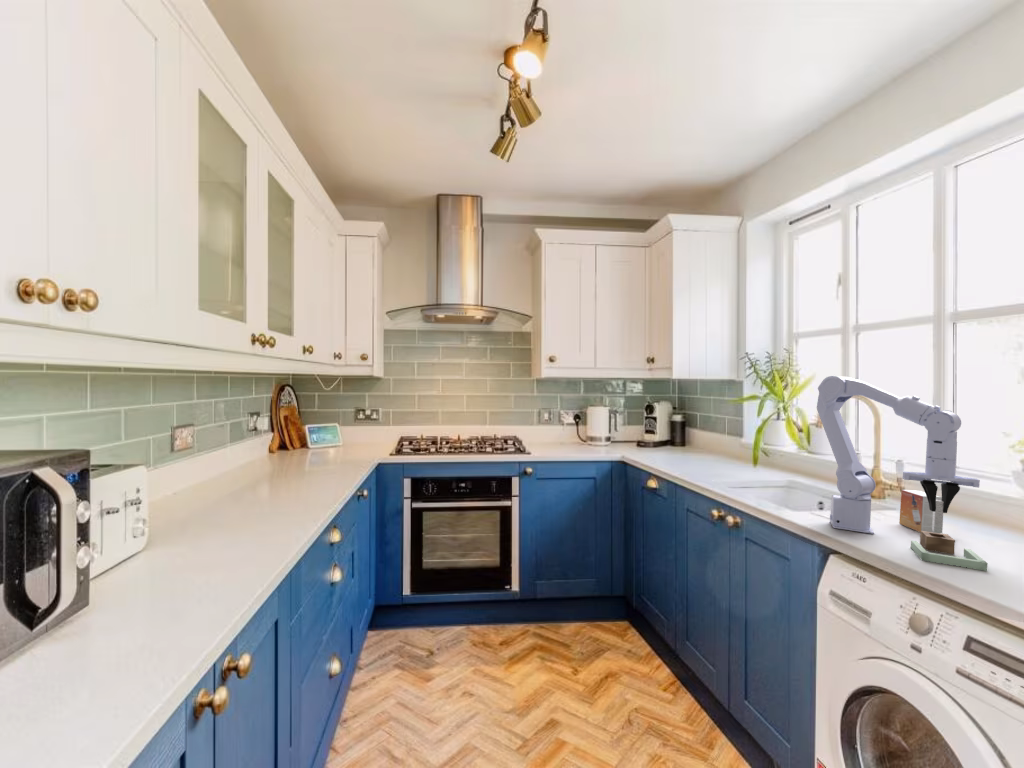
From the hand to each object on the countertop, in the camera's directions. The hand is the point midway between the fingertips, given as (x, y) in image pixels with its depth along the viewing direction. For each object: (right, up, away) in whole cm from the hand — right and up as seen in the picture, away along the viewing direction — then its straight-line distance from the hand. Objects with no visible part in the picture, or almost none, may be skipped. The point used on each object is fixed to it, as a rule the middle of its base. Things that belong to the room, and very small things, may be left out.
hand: (938, 511), depth 121 cm
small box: (+10, -10, +17) cm, 22 cm away
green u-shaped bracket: (-4, -10, -6) cm, 12 cm away
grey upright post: (0, -5, 0) cm, 5 cm away
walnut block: (0, -10, 0) cm, 10 cm away
